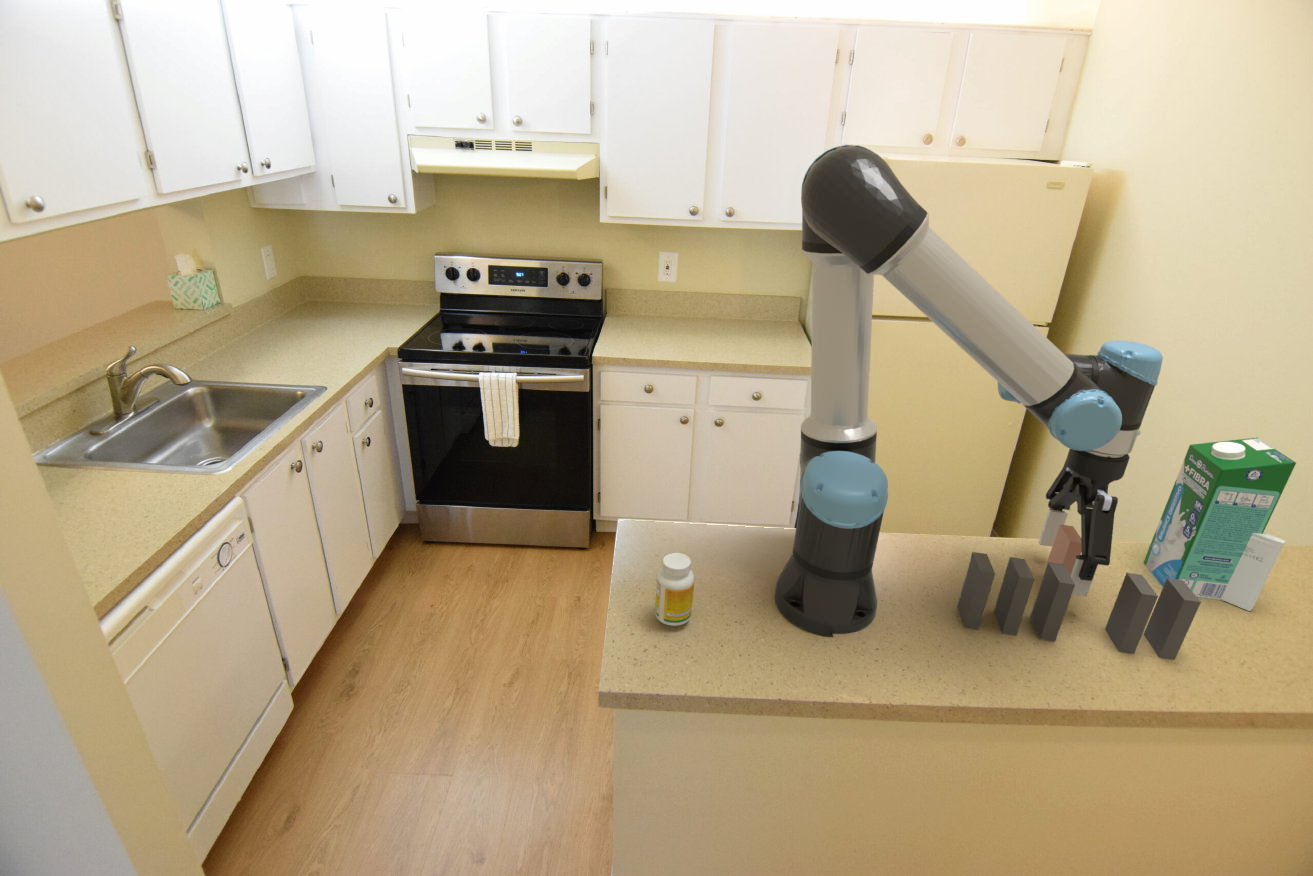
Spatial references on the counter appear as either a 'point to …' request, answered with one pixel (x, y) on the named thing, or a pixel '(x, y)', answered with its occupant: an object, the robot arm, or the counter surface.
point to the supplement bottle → (674, 590)
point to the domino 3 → (1065, 547)
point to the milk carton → (1216, 512)
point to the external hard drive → (1253, 570)
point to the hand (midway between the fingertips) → (1061, 568)
